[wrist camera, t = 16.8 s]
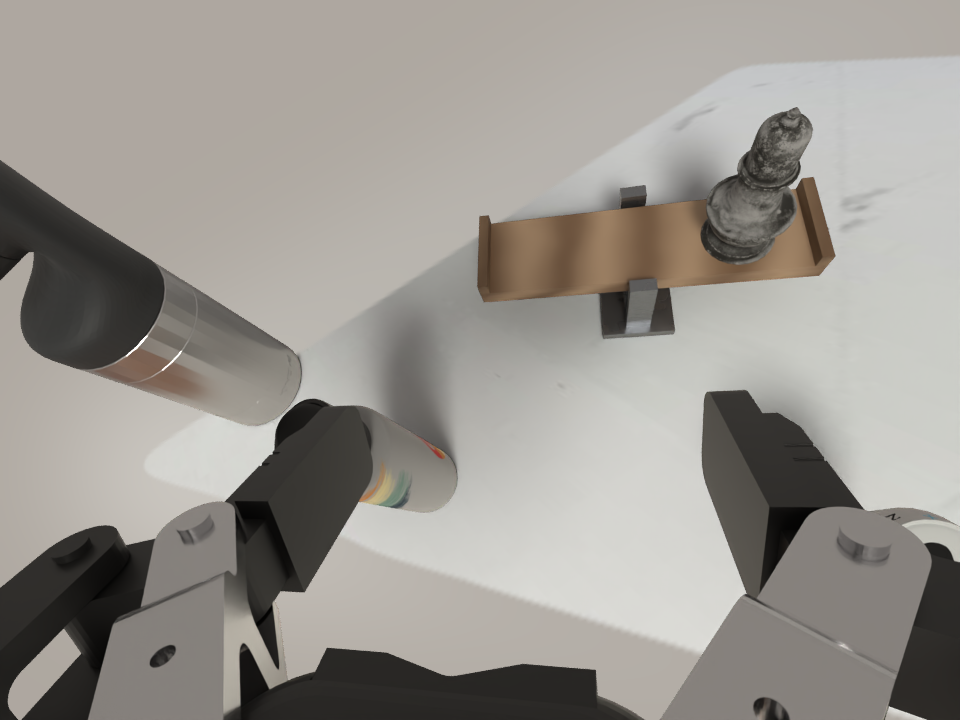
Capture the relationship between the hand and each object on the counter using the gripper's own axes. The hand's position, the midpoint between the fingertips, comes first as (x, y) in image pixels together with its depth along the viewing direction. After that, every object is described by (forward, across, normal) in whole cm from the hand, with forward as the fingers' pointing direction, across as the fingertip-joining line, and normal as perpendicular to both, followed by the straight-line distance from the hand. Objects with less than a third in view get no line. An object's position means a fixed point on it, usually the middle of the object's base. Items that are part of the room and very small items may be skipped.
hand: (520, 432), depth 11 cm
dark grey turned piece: (+32, -13, +3) cm, 35 cm away
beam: (+33, -6, +4) cm, 33 cm away
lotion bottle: (+24, +13, +20) cm, 34 cm away
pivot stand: (+36, -6, +7) cm, 37 cm away
